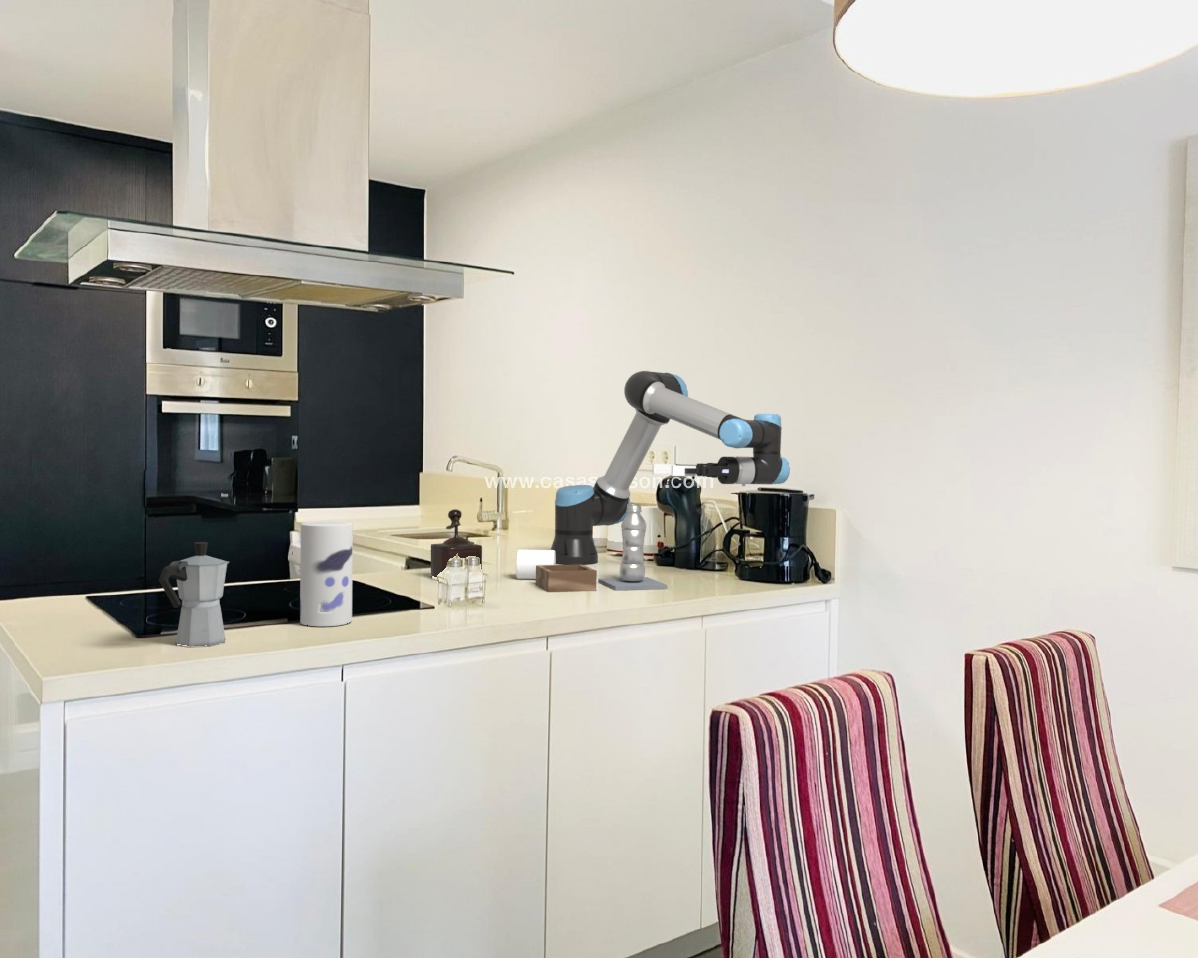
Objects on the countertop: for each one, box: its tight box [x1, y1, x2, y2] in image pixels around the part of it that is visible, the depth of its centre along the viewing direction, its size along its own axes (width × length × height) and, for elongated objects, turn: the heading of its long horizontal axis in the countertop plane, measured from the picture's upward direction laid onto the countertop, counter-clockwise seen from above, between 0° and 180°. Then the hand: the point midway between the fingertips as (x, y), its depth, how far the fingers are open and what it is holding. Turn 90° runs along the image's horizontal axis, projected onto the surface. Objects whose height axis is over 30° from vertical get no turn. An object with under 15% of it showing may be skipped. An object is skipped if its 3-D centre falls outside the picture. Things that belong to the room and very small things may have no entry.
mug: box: [515, 548, 557, 581], centre depth 262 cm, size 12×10×8 cm
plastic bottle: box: [619, 503, 647, 582], centre depth 251 cm, size 6×7×20 cm
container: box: [299, 520, 354, 627], centre depth 194 cm, size 10×10×20 cm
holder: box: [535, 564, 598, 593], centre depth 246 cm, size 12×12×5 cm
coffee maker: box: [158, 541, 230, 647], centre depth 172 cm, size 15×9×18 cm, turn 154°
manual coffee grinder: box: [430, 508, 483, 577], centre depth 259 cm, size 16×11×18 cm
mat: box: [597, 576, 668, 591], centre depth 251 cm, size 14×14×1 cm
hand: (662, 469), depth 258 cm, fingers open, 13 cm apart
